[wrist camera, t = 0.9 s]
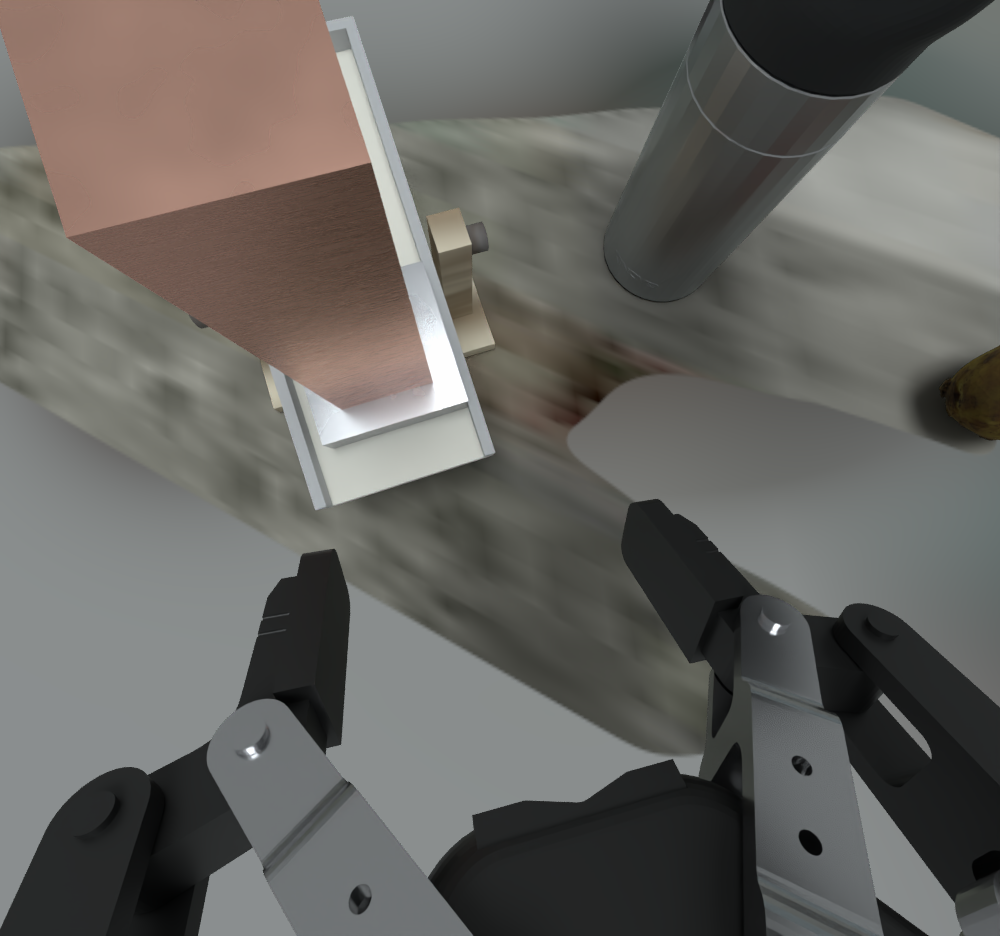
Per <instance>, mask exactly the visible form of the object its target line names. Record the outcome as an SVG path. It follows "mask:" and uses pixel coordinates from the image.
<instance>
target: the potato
mask: <svg viewBox="0 0 1000 936" xmlns="http://www.w3.org/2000/svg"><path fill="white" fill-rule="evenodd" d="M939 390H940V396H941V397H942V398H944V397H945V398H946V401H945V403H946V411H947V413H948V415H949V416H952V417H953V418H954V419H955V420H956V421H957V422H959V424H960V425H962V426H963V427H964V428H966V429H968V430H970V431H972V432H974V433H976V434H978V435H979V437H982V438H985V439H987V440H1000V346H998V347H996V348H994V349H992V350H990V351H989V352H986V353H984V354H983V355H981V356H979V357H977V358H975V359H973V360H972V361H971V362H969V363H968V364H966V365H965V366H964V367H963V368H961V369H960V370H959V371H958V372H957V373H956V374H955V376H954V377H953V378H949V380H947V379H946V380H945V382H944V383H943V384H942V385H941V386H940V388H939Z"/></svg>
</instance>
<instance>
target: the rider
mask: <svg viewBox="0 0 1000 936" xmlns="http://www.w3.org/2000/svg"><path fill="white" fill-rule="evenodd" d="M0 29H1V32H2V35H3V39H4V42H5V45H6V48H7V51H8V54H9V57H10V61H11V64H12V67H13V70H14V73H15V76H16V80H17V83H18V86H19V89H20V92H21V95H22V98H23V101H24V105H25V108H26V111H27V114H28V117H29V121H30V124H31V127H32V130H33V133H34V136H35V139H36V143H37V146H38V149H39V152H40V155H41V159H42V162H43V165H44V168H45V171H46V174H47V177H48V181H49V184H50V187H51V190H52V193H53V196H54V200H55V203H56V206H57V209H58V212H59V215H60V218H61V222H62V225H63V228H64V231H65V234H66V237H67V238H68V239H70V240H71V241H73V242H74V243H76V244H78V245H79V246H81V247H82V248H84V249H86V250H87V251H89V252H90V253H92V254H94V255H95V256H97V257H98V258H100V259H102V260H103V261H105V262H106V263H108V264H110V265H111V266H113V267H114V268H116V269H118V270H119V271H121V272H122V273H124V274H126V275H127V276H129V277H130V278H132V279H134V280H135V281H137V282H138V283H140V284H142V285H143V286H145V287H146V288H148V289H150V290H151V291H153V292H154V293H156V294H158V295H159V296H161V297H162V298H164V299H166V300H167V301H169V302H170V303H172V304H174V305H175V306H177V307H178V308H180V309H182V310H183V311H185V312H186V313H188V314H189V315H191V316H193V317H194V318H196V319H197V320H199V321H201V322H202V323H204V324H205V325H207V326H209V327H210V328H212V329H213V330H215V331H217V332H218V333H220V334H221V335H223V336H225V337H226V338H228V339H229V340H231V341H233V342H234V343H236V344H237V345H239V346H241V347H242V348H244V349H245V350H247V351H249V352H250V353H252V354H253V355H255V356H257V357H258V358H260V359H261V360H263V361H265V362H266V363H268V364H269V365H271V366H273V367H274V368H276V369H277V370H279V371H281V372H282V373H284V374H285V375H287V376H289V377H290V378H292V379H293V380H295V381H297V382H298V383H300V384H301V385H303V387H304V390H305V393H306V396H307V399H308V402H309V405H310V408H311V411H312V415H313V418H314V421H315V424H316V427H317V430H318V433H319V436H320V439H321V442H322V446H326V447H329V448H333V449H334V448H338V447H341V446H344V445H347V444H351V443H354V442H357V441H360V440H364V439H367V438H370V437H373V436H377V435H380V434H383V433H386V432H390V431H393V430H396V429H399V428H403V427H406V426H409V425H412V424H416V423H419V422H422V421H425V420H428V419H432V418H435V417H438V416H441V415H445V414H448V413H451V412H454V411H458V410H461V409H464V408H467V407H468V398H467V395H466V392H465V389H464V386H463V383H462V380H461V377H460V374H459V371H458V368H457V365H456V361H455V358H454V355H453V352H452V349H451V346H450V343H449V340H448V337H447V334H446V331H445V328H444V325H443V321H442V318H441V315H440V312H439V309H438V306H437V303H436V300H435V297H434V294H433V291H432V288H431V285H430V282H429V278H428V275H427V272H426V269H425V266H424V263H423V261H420V262H417V263H413V264H409V265H406V266H402V267H401V266H400V263H399V259H398V256H397V252H396V249H395V245H394V241H393V238H392V234H391V231H390V227H389V224H388V220H387V217H386V213H385V209H384V206H383V202H382V199H381V195H380V192H379V188H378V184H377V181H376V177H375V174H374V170H373V167H372V163H371V160H370V157H369V154H368V151H367V148H366V145H365V141H364V138H363V135H362V132H361V129H360V126H359V123H358V120H357V117H356V114H355V111H354V108H353V105H352V101H351V98H350V95H349V92H348V89H347V86H346V83H345V80H344V77H343V74H342V71H341V68H340V65H339V61H338V58H337V55H336V52H335V49H334V46H333V43H332V40H331V37H330V34H329V31H328V28H327V25H326V21H325V19H324V16H323V12H322V9H321V6H320V3H319V0H0Z"/></svg>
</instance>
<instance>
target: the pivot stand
mask: <svg viewBox="0 0 1000 936" xmlns="http://www.w3.org/2000/svg"><path fill="white" fill-rule="evenodd" d="M426 218H427V225H428V231H429V238H430V244H431V250H432V257H433V259H432V260H433V263H434V266H435V269H436V272H437V275H438V278H439V281H440V284H441V287H442V290H443V293H444V296H445V300H446V303H447V306H448V309H449V312H450V315H451V318H452V321H453V324H454V327H455V330H456V333H457V336H458V339H459V343H460V346H461V349H462V352H463V355H464V358H465V357H468V356H472V355H475V354H478V353H482V352H485V351H489V350H492V349H494V348H495V342H494V339H493V336H492V334H491V331H490V328H489V325H488V322H487V319H486V316H485V313H484V310H483V307H482V305H481V302H480V299H479V296H478V293H477V290H476V287H475V284H474V281H473V278H472V255H473V254H476V253H480V252H484V251H487V250H488V248H489V246H488V238H487V233H486V230H485V227H484V224H483V223H482V222H479V223H475V224H471V225H467V226H465V223H464V220H463V218H462V215H461V212H460V209H459V208H456V209H452V210H448V211H445V212H441V213H437V214H433V215H429V216H426ZM189 316H190V318H191V319H192V321H193V322H194V323H195V324H196V325H197V326H198V327H199V328H206V327H209V326H207V325H205V324H204V323H202V322H201V321H199V320H197V319H196V318H194V317H193V316H191V315H189ZM260 362H261V365H262V369H263V372H264V376H265V379H266V383H267V386H268V390H269V393H270V397H271V400H272V404H273V407H274V409H275V410H277V411H279V412H283V408H282V405H281V401H280V398H279V395H278V392H277V389H276V386H275V383H274V380H273V377H272V373H271V370H270V367H269V364H268V363H266V362H265V361H263V360H261V359H260Z"/></svg>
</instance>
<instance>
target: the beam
mask: <svg viewBox="0 0 1000 936" xmlns="http://www.w3.org/2000/svg"><path fill="white" fill-rule="evenodd" d="M326 25H327V28H328V31H329V34H330V37H331V40H332V43H333V46H334V49H335V52H336V55H337V58H338V61H339V65H340V68H341V71H342V74H343V77H344V80H345V83H346V86H347V89H348V92H349V95H350V98H351V101H352V105H353V108H354V111H355V114H356V117H357V120H358V123H359V126H360V129H361V132H362V135H363V138H364V141H365V145H366V148H367V151H368V154H369V157H370V160H371V163H372V167H373V170H374V174H375V177H376V181H377V184H378V188H379V192H380V195H381V199H382V202H383V206H384V209H385V213H386V217H387V220H388V224H389V227H390V231H391V234H392V238H393V241H394V245H395V249H396V252H397V256H398V259H399V263H400V266H401V267H402V266H406V265H409V264H413V263H417V262H420V261H423V263H424V266H425V269H426V272H427V275H428V278H429V282H430V285H431V288H432V291H433V294H434V297H435V300H436V303H437V306H438V309H439V312H440V315H441V318H442V321H443V325H444V328H445V331H446V334H447V337H448V340H449V343H450V346H451V349H452V352H453V355H454V358H455V361H456V365H457V368H458V371H459V374H460V377H461V380H462V383H463V386H464V389H465V392H466V395H467V398H468V407H467V408H464V409H461V410H458V411H454V412H451V413H448V414H445V415H441V416H438V417H435V418H432V419H428V420H425V421H422V422H419V423H416V424H412V425H409V426H406V427H403V428H399V429H396V430H393V431H390V432H386V433H383V434H380V435H377V436H373V437H370V438H367V439H364V440H360V441H357V442H354V443H351V444H347V445H344V446H341V447H338V448H334V449H333V448H329V447H326V446H322V442H321V439H320V436H319V433H318V430H317V427H316V424H315V421H314V418H313V415H312V411H311V408H310V405H309V402H308V399H307V396H306V393H305V390H304V387H303V385H301V384H300V383H298V382H297V381H295V380H293V379H292V378H290V377H289V376H287V375H285V374H284V373H282V372H281V371H279V370H277V369H276V368H274V367H273V366H271V365H269V367H270V370H271V373H272V377H273V380H274V383H275V386H276V389H277V392H278V395H279V398H280V401H281V405H282V408H283V411H284V414H285V417H286V420H287V423H288V426H289V430H290V433H291V436H292V439H293V442H294V445H295V448H296V451H297V454H298V458H299V461H300V464H301V467H302V470H303V473H304V476H305V479H306V483H307V486H308V489H309V492H310V495H311V498H312V501H313V504H314V507H315V510H320V509H325V508H331V507H334V506H337V505H340V504H344V503H347V502H350V501H353V500H356V499H359V498H362V497H365V496H368V495H372V494H375V493H378V492H381V491H384V490H387V489H390V488H393V487H396V486H400V485H403V484H406V483H409V482H412V481H415V480H418V479H421V478H425V477H428V476H431V475H434V474H437V473H440V472H443V471H446V470H449V469H453V468H456V467H459V466H462V465H465V464H468V463H471V462H474V461H477V460H481V459H484V458H487V457H490V456H492V455H493V454H494V453H495V450H494V447H493V444H492V441H491V438H490V435H489V432H488V429H487V425H486V422H485V419H484V416H483V413H482V410H481V407H480V404H479V401H478V398H477V395H476V392H475V389H474V386H473V382H472V379H471V376H470V373H469V370H468V367H467V364H466V361H465V358H464V355H463V352H462V349H461V346H460V343H459V339H458V336H457V333H456V330H455V327H454V324H453V321H452V318H451V315H450V312H449V309H448V306H447V303H446V300H445V296H444V293H443V290H442V287H441V284H440V281H439V278H438V275H437V272H436V269H435V266H434V263H433V260H432V257H431V253H430V250H429V247H428V244H427V241H426V238H425V235H424V232H423V229H422V226H421V223H420V220H419V217H418V214H417V211H416V207H415V204H414V201H413V198H412V195H411V192H410V189H409V186H408V183H407V180H406V177H405V174H404V171H403V168H402V164H401V161H400V158H399V155H398V152H397V149H396V146H395V143H394V140H393V137H392V134H391V131H390V128H389V125H388V121H387V118H386V115H385V112H384V110H383V106H382V103H381V100H380V97H379V94H378V91H377V88H376V85H375V82H374V78H373V76H372V72H371V69H370V66H369V63H368V60H367V57H366V54H365V51H364V48H363V45H362V42H361V39H360V35H359V33H358V29H357V26H356V23H355V20H354V17H353V16H349V17H345V18H340V19H336V20H331V21H326Z"/></svg>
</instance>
